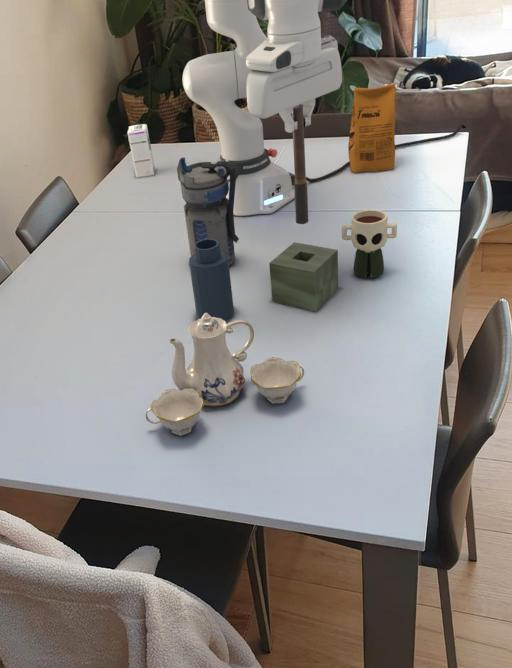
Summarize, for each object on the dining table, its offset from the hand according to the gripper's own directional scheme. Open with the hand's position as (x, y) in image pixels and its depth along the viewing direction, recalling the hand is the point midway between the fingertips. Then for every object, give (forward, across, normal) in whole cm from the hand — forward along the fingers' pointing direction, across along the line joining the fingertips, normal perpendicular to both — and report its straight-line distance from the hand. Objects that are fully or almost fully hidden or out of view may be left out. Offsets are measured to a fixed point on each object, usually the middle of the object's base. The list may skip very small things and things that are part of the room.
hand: (298, 128), depth 129 cm
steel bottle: (+35, +17, -9) cm, 40 cm away
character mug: (+35, -15, +4) cm, 38 cm away
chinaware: (+35, +35, +14) cm, 51 cm away
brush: (+18, 0, 0) cm, 18 cm away
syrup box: (+35, -24, -91) cm, 100 cm away
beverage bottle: (+35, +2, -26) cm, 44 cm away
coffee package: (+35, -63, -35) cm, 80 cm away
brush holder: (+35, 0, 0) cm, 35 cm away
